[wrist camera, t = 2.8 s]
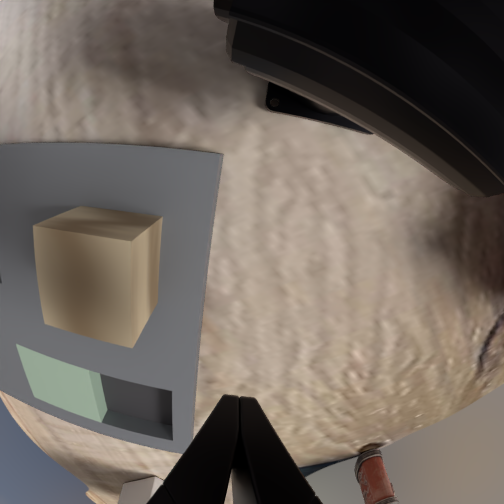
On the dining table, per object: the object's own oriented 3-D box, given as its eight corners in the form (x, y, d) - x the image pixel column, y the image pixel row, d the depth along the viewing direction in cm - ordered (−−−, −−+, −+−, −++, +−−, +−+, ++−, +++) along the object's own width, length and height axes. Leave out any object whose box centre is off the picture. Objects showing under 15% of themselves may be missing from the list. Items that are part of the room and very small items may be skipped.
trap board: (223, 154, 16) (220, 154, 14) (192, 438, 23) (190, 455, 21) (-37, 147, 14) (-53, 149, 13) (-1, 374, 22) (-9, 385, 20)
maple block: (162, 216, 15) (131, 241, 11) (157, 302, 16) (132, 348, 12) (80, 205, 15) (33, 225, 10) (82, 286, 16) (44, 323, 12)
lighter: (379, 474, 27) (398, 534, 18) (354, 482, 27) (370, 544, 18) (384, 445, 25) (410, 517, 15) (354, 454, 25) (375, 530, 16)
